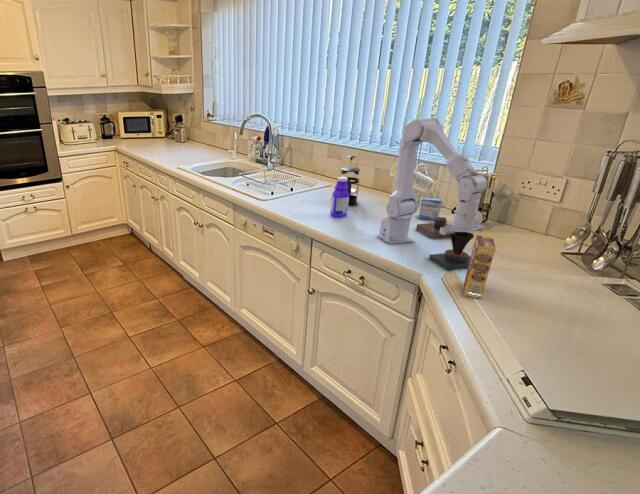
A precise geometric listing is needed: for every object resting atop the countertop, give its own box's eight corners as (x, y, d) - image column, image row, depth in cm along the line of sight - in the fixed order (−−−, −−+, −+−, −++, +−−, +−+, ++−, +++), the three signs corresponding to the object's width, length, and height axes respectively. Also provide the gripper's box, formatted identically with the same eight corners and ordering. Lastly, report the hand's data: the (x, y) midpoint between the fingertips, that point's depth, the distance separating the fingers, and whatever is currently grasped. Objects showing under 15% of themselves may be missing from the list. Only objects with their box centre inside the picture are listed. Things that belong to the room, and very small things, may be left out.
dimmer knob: (437, 229, 150) (439, 219, 149) (430, 225, 154) (432, 216, 152) (447, 228, 151) (449, 219, 149) (440, 225, 154) (441, 215, 153)
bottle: (341, 213, 178) (345, 175, 171) (349, 217, 173) (353, 178, 166) (327, 215, 176) (331, 176, 169) (335, 219, 171) (338, 179, 164)
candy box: (482, 299, 107) (496, 248, 101) (464, 296, 109) (476, 245, 103) (480, 285, 114) (493, 237, 108) (463, 282, 116) (475, 234, 110)
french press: (357, 206, 186) (363, 158, 178) (337, 205, 188) (341, 157, 180) (355, 200, 197) (361, 153, 188) (336, 199, 199) (340, 153, 190)
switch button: (454, 260, 126) (455, 255, 125) (446, 256, 129) (447, 251, 128) (464, 259, 126) (465, 254, 126) (456, 255, 130) (457, 250, 129)
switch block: (447, 270, 123) (450, 260, 122) (428, 259, 131) (430, 249, 130) (481, 267, 125) (483, 257, 124) (460, 256, 133) (462, 246, 132)
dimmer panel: (432, 239, 148) (433, 232, 147) (415, 230, 157) (416, 223, 156) (460, 236, 150) (462, 230, 149) (442, 227, 159) (443, 221, 158)
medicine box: (417, 218, 170) (421, 199, 166) (417, 215, 173) (420, 196, 170) (438, 220, 167) (442, 201, 164) (437, 217, 171) (441, 198, 167)
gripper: (454, 219, 117) (445, 260, 122) (496, 215, 119) (486, 256, 125) (438, 211, 123) (430, 251, 129) (478, 208, 126) (469, 247, 131)
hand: (456, 253), depth 127 cm, fingers closed, pressing on switch button
